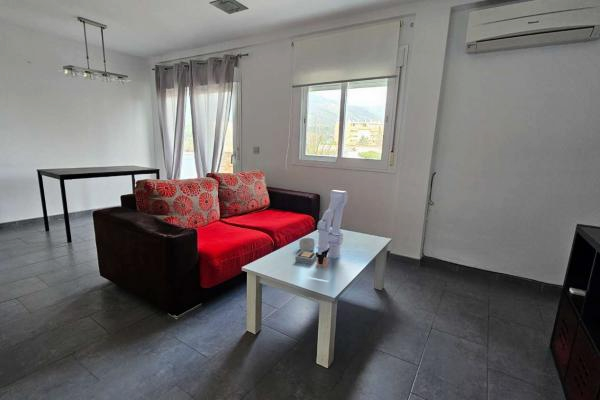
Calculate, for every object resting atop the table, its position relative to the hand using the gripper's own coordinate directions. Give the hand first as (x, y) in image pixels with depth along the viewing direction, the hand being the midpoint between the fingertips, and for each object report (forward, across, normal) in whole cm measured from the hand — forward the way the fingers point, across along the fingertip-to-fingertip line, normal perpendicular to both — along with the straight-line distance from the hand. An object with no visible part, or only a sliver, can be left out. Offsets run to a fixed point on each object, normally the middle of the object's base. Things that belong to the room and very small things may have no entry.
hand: (322, 261), depth 170 cm
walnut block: (+2, -2, -11) cm, 11 cm away
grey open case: (+3, -21, -17) cm, 27 cm away
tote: (+3, -2, -11) cm, 11 cm away
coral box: (+3, 0, 0) cm, 3 cm away
